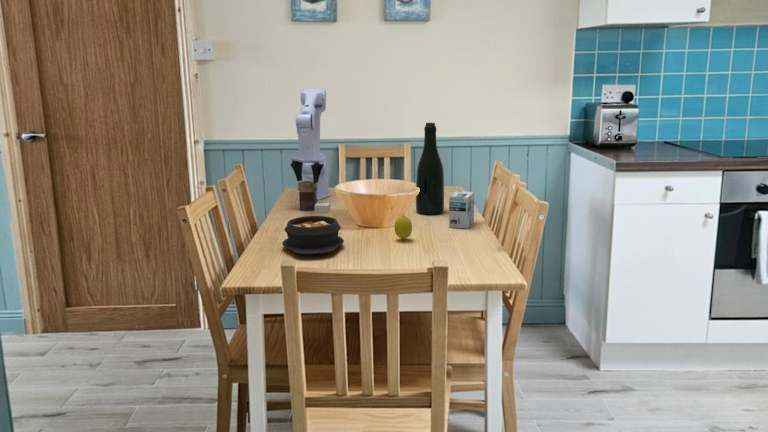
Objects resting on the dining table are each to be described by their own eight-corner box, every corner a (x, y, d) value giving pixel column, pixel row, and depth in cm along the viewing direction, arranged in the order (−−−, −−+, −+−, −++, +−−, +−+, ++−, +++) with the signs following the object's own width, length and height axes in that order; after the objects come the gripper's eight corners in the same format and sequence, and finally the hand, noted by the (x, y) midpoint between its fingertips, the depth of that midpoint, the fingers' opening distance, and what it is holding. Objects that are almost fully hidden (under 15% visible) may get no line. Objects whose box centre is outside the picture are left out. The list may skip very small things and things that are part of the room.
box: (315, 210, 247) (314, 191, 245) (299, 210, 247) (298, 191, 245) (317, 207, 253) (316, 188, 251) (301, 207, 253) (301, 188, 251)
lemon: (407, 236, 209) (407, 212, 207) (414, 241, 204) (414, 216, 202) (391, 238, 207) (391, 214, 206) (398, 243, 202) (398, 218, 201)
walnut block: (306, 188, 251) (305, 180, 250) (316, 189, 249) (316, 181, 248) (298, 190, 247) (298, 183, 246) (309, 192, 245) (309, 184, 244)
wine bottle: (409, 211, 243) (409, 122, 235) (430, 207, 249) (430, 120, 241) (429, 216, 235) (429, 124, 227) (450, 212, 241) (451, 122, 234)
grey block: (317, 210, 248) (316, 202, 247) (330, 210, 248) (329, 202, 247) (314, 213, 243) (314, 205, 243) (328, 213, 243) (327, 205, 242)
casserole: (347, 258, 188) (346, 230, 186) (282, 262, 186) (280, 233, 184) (341, 235, 212) (340, 210, 210) (283, 238, 210) (281, 213, 208)
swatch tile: (319, 202, 261) (319, 201, 260) (332, 203, 258) (332, 202, 258) (311, 205, 255) (311, 204, 255) (324, 206, 253) (324, 205, 253)
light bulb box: (468, 229, 218) (468, 197, 215) (448, 227, 220) (448, 196, 217) (474, 221, 228) (474, 191, 225) (455, 220, 230) (455, 190, 227)
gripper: (284, 146, 245) (285, 182, 248) (316, 148, 238) (317, 185, 241) (295, 144, 251) (296, 178, 254) (326, 146, 244) (328, 181, 247)
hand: (307, 181), depth 248 cm, fingers open, 7 cm apart
